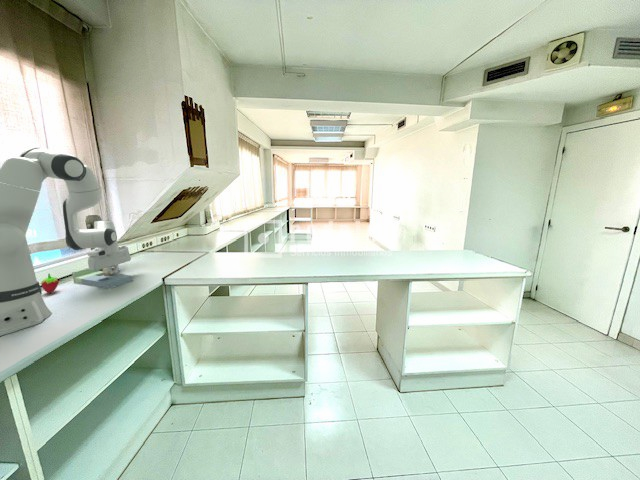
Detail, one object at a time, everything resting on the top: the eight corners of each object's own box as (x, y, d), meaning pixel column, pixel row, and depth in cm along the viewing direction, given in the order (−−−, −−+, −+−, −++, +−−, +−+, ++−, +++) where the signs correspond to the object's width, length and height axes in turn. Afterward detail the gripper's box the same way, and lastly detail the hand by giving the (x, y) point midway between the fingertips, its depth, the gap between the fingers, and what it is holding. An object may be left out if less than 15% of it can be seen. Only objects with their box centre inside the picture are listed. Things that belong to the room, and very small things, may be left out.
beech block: (109, 276, 140) (107, 269, 139) (103, 275, 141) (102, 268, 140) (116, 273, 144) (115, 267, 143) (111, 273, 145) (109, 266, 144)
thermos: (116, 267, 166) (106, 214, 159) (108, 272, 155) (97, 216, 148) (99, 268, 163) (88, 214, 156) (90, 274, 152) (78, 216, 145)
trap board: (109, 288, 130) (107, 277, 129) (74, 282, 139) (71, 272, 138) (132, 280, 141) (130, 270, 140) (98, 275, 150) (96, 265, 149)
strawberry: (63, 288, 131) (59, 270, 129) (56, 294, 124) (51, 274, 122) (48, 290, 128) (44, 272, 126) (40, 296, 122) (35, 276, 120)
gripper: (123, 244, 149) (127, 267, 152) (83, 253, 130) (89, 279, 132) (131, 245, 147) (135, 267, 150) (92, 254, 128) (98, 280, 131)
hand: (113, 273), depth 141 cm, fingers closed
